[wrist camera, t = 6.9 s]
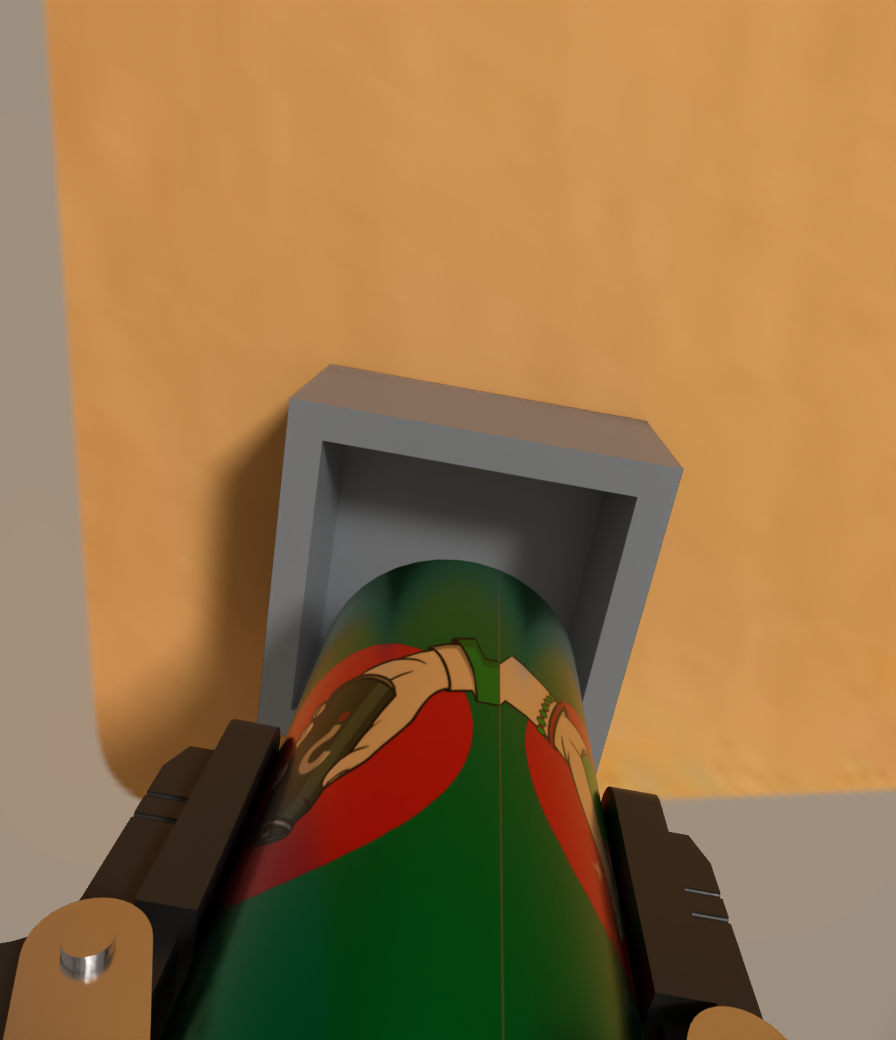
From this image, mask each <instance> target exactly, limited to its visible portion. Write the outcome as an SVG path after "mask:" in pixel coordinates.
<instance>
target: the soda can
mask: <svg viewBox="0 0 896 1040" xmlns="http://www.w3.org/2000/svg"><path fill="white" fill-rule="evenodd" d="M160 1040H644V1037H643V1031H642V1026H641V1020H640V1015H639V1009H638V1004H637V998H636V993H635V987H634V982H633V976H632V971H631V965H630V960H629V954H628V949H627V943H626V938H625V932H624V927H623V921H622V916H621V910H620V905H619V899H618V894H617V889H616V883H615V878H614V872H613V867H612V861H611V856H610V850H609V845H608V839H607V834H606V828H605V823H604V817H603V812H602V806H601V801H600V795H599V790H598V784H597V779H596V773H595V768H594V762H593V757H592V751H591V746H590V740H589V735H588V729H587V724H586V719H585V713H584V708H583V702H582V697H581V691H580V686H579V680H578V675H577V669H576V664H575V658H574V653H573V650H572V647H571V643H570V640H569V637H568V635H567V633H566V631H565V629H564V627H563V625H562V623H561V621H560V619H559V618H558V617H557V615H556V614H555V613H554V611H553V610H552V609H551V607H550V606H549V605H548V603H547V602H546V601H544V600H543V599H542V598H541V597H540V596H539V595H538V594H537V593H536V592H535V591H534V590H533V589H531V588H530V587H528V586H527V585H526V584H524V583H523V582H521V581H520V580H518V579H517V578H515V577H513V576H511V575H509V574H507V573H505V572H503V571H501V570H498V569H495V568H492V567H489V566H486V565H483V564H480V563H474V562H469V561H463V560H445V559H436V560H428V561H420V562H415V563H411V564H408V565H404V566H400V567H397V568H395V569H393V570H390V571H388V572H386V573H384V574H382V575H379V576H378V577H376V578H375V579H373V580H372V581H370V582H369V583H367V584H366V585H364V586H363V587H362V588H360V589H359V590H358V591H357V592H356V593H355V594H354V595H353V596H352V597H351V598H350V599H349V600H348V601H347V602H346V604H345V605H344V606H343V608H342V609H341V610H340V611H339V613H338V614H337V616H336V618H335V620H334V622H333V624H332V626H331V628H330V630H329V632H328V634H327V637H326V639H325V642H324V644H323V646H322V649H321V651H320V654H319V656H318V659H317V661H316V663H315V666H314V668H313V671H312V673H311V675H310V678H309V680H308V683H307V685H306V688H305V690H304V692H303V695H302V697H301V700H300V702H299V704H298V707H297V709H296V712H295V714H294V716H293V719H292V721H291V724H290V726H289V729H288V731H287V733H286V736H285V738H284V741H283V743H282V745H281V748H280V750H279V753H278V755H277V758H276V760H275V762H274V765H273V767H272V770H271V772H270V774H269V777H268V779H267V782H266V784H265V786H264V789H263V791H262V794H261V796H260V799H259V801H258V803H257V806H256V808H255V811H254V813H253V815H252V818H251V820H250V823H249V825H248V828H247V830H246V832H245V835H244V837H243V840H242V842H241V844H240V847H239V849H238V852H237V854H236V857H235V859H234V861H233V864H232V866H231V869H230V871H229V873H228V876H227V878H226V881H225V883H224V885H223V888H222V890H221V893H220V895H219V898H218V900H217V902H216V905H215V907H214V910H213V912H212V914H211V917H210V919H209V922H208V924H207V927H206V929H205V931H204V934H203V936H202V939H201V941H200V943H199V946H198V948H197V951H196V953H195V955H194V958H193V960H192V963H191V965H190V968H189V970H188V972H187V975H186V977H185V980H184V982H183V984H182V987H181V989H180V992H179V994H178V997H177V999H176V1001H175V1004H174V1006H173V1009H172V1011H171V1013H170V1016H169V1018H168V1021H167V1023H166V1026H165V1028H164V1030H163V1033H162V1035H161V1038H160Z"/></svg>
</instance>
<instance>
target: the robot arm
mask: <svg viewBox="0 0 896 1040" xmlns="http://www.w3.org/2000/svg"><path fill="white" fill-rule="evenodd" d="M279 745H280V727H276V726H270V725H265V724H259V723H253V722H248V721H242V720H236V719H233V720H231V722H230V723H229V725H228V726H227V728H226V730H225V732H224V734H223V736H222V738H221V739H220V741H219V743H218V745H217V747H216V749H215V750H209V749H203V748H198V747H192V746H190V747H188V748H187V749H185V750H184V751H183V752H181V753H180V754H178V755H177V756H176V757H174V758H173V759H171V760H170V761H169V762H167V763H166V764H165V765H163V767H162V768H161V770H160V771H159V773H158V775H157V776H156V778H155V779H154V781H153V783H152V784H151V786H150V788H149V789H148V791H147V795H146V796H144V797H143V799H142V800H141V802H140V804H139V805H138V807H137V809H136V810H135V813H134V816H133V817H131V818H130V820H129V822H128V823H127V825H126V826H125V828H124V830H123V831H122V833H121V835H120V836H119V838H118V839H117V841H116V843H115V844H114V846H113V847H112V849H111V851H110V852H109V854H108V855H107V857H106V859H105V860H104V862H103V864H102V865H101V867H100V868H99V870H98V872H97V873H96V875H95V877H94V878H93V880H92V881H91V883H90V885H89V886H88V888H87V889H86V891H85V893H84V894H83V896H82V897H81V899H80V900H79V901H77V902H74V903H71V904H69V905H66V906H64V907H62V908H60V909H58V910H56V911H55V912H53V913H51V914H50V915H48V916H47V917H46V918H44V919H43V920H42V921H41V922H40V923H39V924H38V925H37V926H36V927H35V928H34V929H33V930H32V931H31V933H30V934H29V936H28V937H25V938H22V939H19V940H16V941H11V942H6V943H0V1040H160V1038H161V1035H162V1033H163V1030H164V1028H165V1026H166V1023H167V1021H168V1018H169V1016H170V1013H171V1011H172V1009H173V1006H174V1004H175V1001H176V999H177V997H178V994H179V992H180V989H181V987H182V984H183V982H184V980H185V977H186V975H187V972H188V970H189V968H190V965H191V963H192V960H193V958H194V955H195V953H196V951H197V948H198V946H199V943H200V941H201V939H202V936H203V934H204V931H205V929H206V927H207V924H208V922H209V919H210V917H211V914H212V912H213V910H214V907H215V905H216V902H217V900H218V898H219V895H220V893H221V890H222V888H223V885H224V883H225V881H226V878H227V876H228V873H229V871H230V869H231V866H232V864H233V861H234V859H235V857H236V854H237V852H238V849H239V847H240V844H241V842H242V840H243V837H244V835H245V832H246V830H247V828H248V825H249V823H250V820H251V818H252V815H253V813H254V811H255V808H256V806H257V803H258V801H259V799H260V796H261V794H262V791H263V789H264V786H265V784H266V782H267V779H268V777H269V774H270V772H271V770H272V767H273V765H274V762H275V760H276V758H277V755H278V753H279ZM601 806H602V812H603V817H604V823H605V828H606V834H607V839H608V845H609V850H610V856H611V861H612V867H613V872H614V878H615V883H616V889H617V894H618V899H619V905H620V910H621V916H622V921H623V927H624V932H625V938H626V943H627V949H628V954H629V960H630V965H631V971H632V976H633V982H634V987H635V993H636V998H637V1004H638V1009H639V1015H640V1020H641V1026H642V1031H643V1037H644V1040H787V1039H786V1038H785V1037H784V1036H783V1035H782V1034H781V1033H780V1032H779V1031H778V1030H776V1029H775V1028H774V1027H773V1026H772V1025H770V1024H769V1023H767V1022H766V1021H764V1020H763V1018H762V1015H761V1012H760V1009H759V1006H758V1003H757V1000H756V997H755V994H754V991H753V988H752V986H751V982H750V980H749V976H748V974H747V971H746V968H745V965H744V962H743V959H742V956H741V953H740V950H739V947H738V944H737V941H736V938H735V935H734V932H733V929H732V926H731V924H729V923H728V918H729V917H728V914H727V911H726V908H725V905H724V902H723V899H720V890H719V887H718V884H717V881H716V878H715V876H714V872H713V869H712V867H711V864H710V862H709V861H708V860H707V858H706V857H705V856H704V855H703V853H702V852H701V851H700V849H699V848H698V847H697V846H696V845H695V843H694V842H693V841H692V839H691V838H690V837H689V836H688V835H684V834H678V833H672V832H669V831H668V828H667V824H666V821H665V817H664V814H663V810H662V807H661V803H660V800H659V798H658V796H657V795H654V794H649V793H643V792H638V791H632V790H626V789H621V788H615V787H608V788H607V789H606V790H605V792H604V794H603V797H602V801H601Z"/></svg>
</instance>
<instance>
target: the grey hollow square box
mask: <svg viewBox="0 0 896 1040" xmlns="http://www.w3.org/2000/svg"><path fill="white" fill-rule="evenodd" d="M682 473H683V468H682V466H681V465H680V464H679V462H678V461H677V460H676V459H675V457H674V456H673V455H672V453H671V452H670V451H669V450H668V448H667V447H666V446H665V444H664V443H663V442H662V440H661V439H660V438H659V437H658V435H657V434H656V433H655V431H654V430H653V429H652V428H651V426H650V425H649V424H648V422H647V421H643V420H638V419H632V418H627V417H621V416H616V415H610V414H605V413H599V412H593V411H588V410H582V409H577V408H571V407H566V406H560V405H554V404H549V403H543V402H538V401H532V400H527V399H521V398H516V397H510V396H504V395H499V394H493V393H488V392H482V391H477V390H471V389H466V388H460V387H454V386H449V385H443V384H438V383H432V382H427V381H421V380H416V379H410V378H404V377H399V376H393V375H388V374H382V373H377V372H371V371H365V370H360V369H354V368H349V367H343V366H338V365H332V364H330V365H329V366H328V367H326V368H325V369H324V370H323V371H322V372H320V373H319V374H318V375H317V376H316V377H314V378H313V379H312V380H311V381H310V382H308V383H307V384H306V385H305V386H304V387H302V388H301V389H300V390H299V391H298V392H297V393H295V394H294V395H293V396H292V397H291V398H290V400H289V410H288V420H287V430H286V440H285V450H284V460H283V470H282V480H281V490H280V500H279V510H278V520H277V530H276V540H275V550H274V560H273V570H272V580H271V590H270V600H269V610H268V620H267V630H266V639H265V649H264V659H263V669H262V679H261V689H260V699H259V709H258V719H257V723H259V724H265V725H270V726H276V727H280V735H283V736H286V733H287V731H288V729H289V726H290V724H291V721H292V719H293V716H294V714H295V712H296V709H297V707H298V704H299V702H300V700H301V697H302V695H303V692H304V690H305V688H306V685H307V683H308V680H309V678H310V675H311V673H312V671H313V668H314V666H315V663H316V661H317V659H318V656H319V654H320V651H321V649H322V646H323V644H324V642H325V639H326V637H327V634H328V632H329V630H330V628H331V626H332V624H333V622H334V620H335V618H336V616H337V614H338V613H339V611H340V610H341V609H342V608H343V606H344V605H345V604H346V602H347V601H348V600H349V599H350V598H351V597H352V596H353V595H354V594H355V593H356V592H357V591H358V590H359V589H360V588H362V587H363V586H364V585H366V584H367V583H369V582H370V581H372V580H373V579H375V578H376V577H378V576H379V575H382V574H384V573H386V572H388V571H390V570H393V569H395V568H397V567H400V566H404V565H408V564H411V563H415V562H420V561H428V560H436V559H445V560H463V561H469V562H474V563H480V564H483V565H486V566H489V567H492V568H495V569H498V570H501V571H503V572H505V573H507V574H509V575H511V576H513V577H515V578H517V579H518V580H520V581H521V582H523V583H524V584H526V585H527V586H528V587H530V588H531V589H533V590H534V591H535V592H536V593H537V594H538V595H539V596H540V597H541V598H542V599H543V600H544V601H546V602H547V603H548V605H549V606H550V607H551V609H552V610H553V611H554V613H555V614H556V615H557V617H558V618H559V619H560V621H561V623H562V625H563V627H564V629H565V631H566V633H567V635H568V637H569V640H570V643H571V647H572V650H573V653H574V658H575V664H576V669H577V675H578V680H579V686H580V691H581V697H582V702H583V708H584V713H585V719H586V724H587V729H588V735H589V740H590V746H591V751H592V757H593V762H594V768H595V773H597V770H598V766H599V763H600V759H601V756H602V752H603V749H604V745H605V742H606V738H607V735H608V731H609V728H610V724H611V721H612V717H613V714H614V710H615V707H616V703H617V700H618V696H619V693H620V689H621V686H622V682H623V679H624V675H625V672H626V668H627V665H628V661H629V658H630V654H631V651H632V647H633V644H634V640H635V637H636V633H637V630H638V626H639V623H640V619H641V616H642V612H643V609H644V605H645V602H646V598H647V595H648V591H649V588H650V584H651V581H652V577H653V574H654V570H655V567H656V563H657V560H658V556H659V553H660V549H661V546H662V542H663V539H664V535H665V532H666V528H667V525H668V521H669V518H670V514H671V511H672V507H673V504H674V501H675V497H676V494H677V490H678V487H679V483H680V480H681V476H682Z"/></svg>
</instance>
